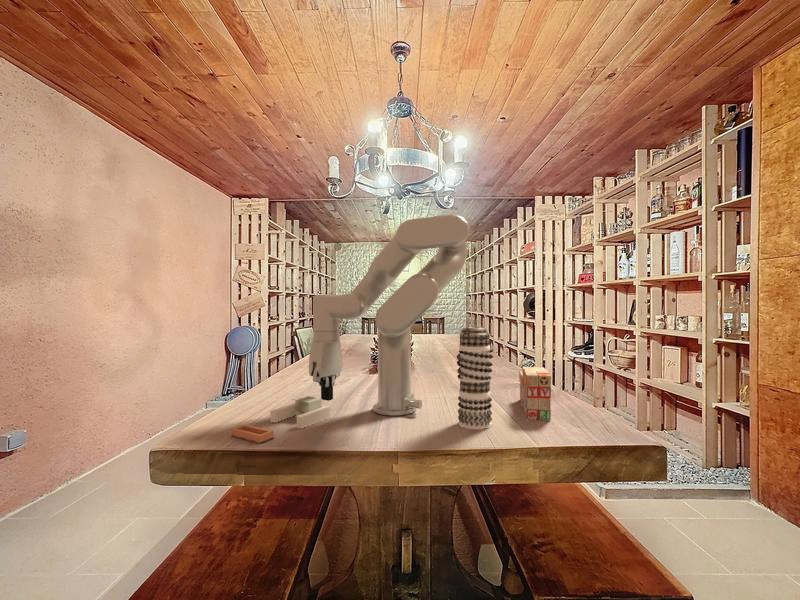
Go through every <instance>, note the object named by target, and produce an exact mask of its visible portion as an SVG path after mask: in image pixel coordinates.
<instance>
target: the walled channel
mask: <svg viewBox="0 0 800 600" xmlns="http://www.w3.org/2000/svg"><path fill="white" fill-rule="evenodd" d="M269 414H270V417H269V418H270V423H272V422H274V423H273V424H276V423H278V421H279V422H282V421H285V420H287V419H286V418H288V419H290V418H289V417H291V418H293V417H292V416H294V417H296V416H295V415H296V413H295V402H294V403H292V404H288V405H284V406H281V407H278V408H275V409H272V410H270V413H269ZM330 418H331V406H328V405H324V406H322V407H321V408H318V409H316V410H313V411H310V412H307V413H304V414H301V415H298V416H297V418H296V428H297V429H300V428H301V429H300V430H302V428H303V429H304V427H305V428H307V426H308V427H310V426H313V425H316V424H319V423H320V422H322V421H325V419H326V420H327V419H330ZM284 419H285V420H284ZM281 420H282V421H281ZM275 422H276V423H275ZM312 424H313V425H312Z"/></svg>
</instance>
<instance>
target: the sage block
mask: <svg viewBox="0 0 800 600" xmlns="http://www.w3.org/2000/svg"><path fill="white" fill-rule="evenodd" d="M322 401H323V400H322V399H321V397H316V396H315V397H314V396H304V397H301V398H298V399H296V400H295V402H294V403H295V413H296V416H295V419H297V416H298V415H301V414H304V413H307V412H310V411H313V410H316V409H318V408H321V407H323V406H322V404H323V403H322Z"/></svg>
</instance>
